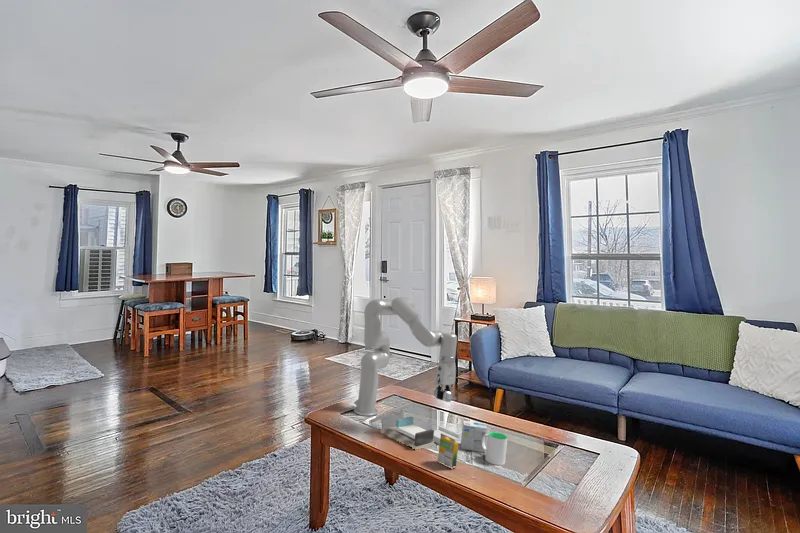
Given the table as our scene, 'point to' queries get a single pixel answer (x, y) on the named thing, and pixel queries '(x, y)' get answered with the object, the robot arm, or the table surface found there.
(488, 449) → the mug
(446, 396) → the loose roller
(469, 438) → the light bulb box
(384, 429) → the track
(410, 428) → the toy bed
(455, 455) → the crayon box
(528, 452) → the table surface
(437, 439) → the roller rack
